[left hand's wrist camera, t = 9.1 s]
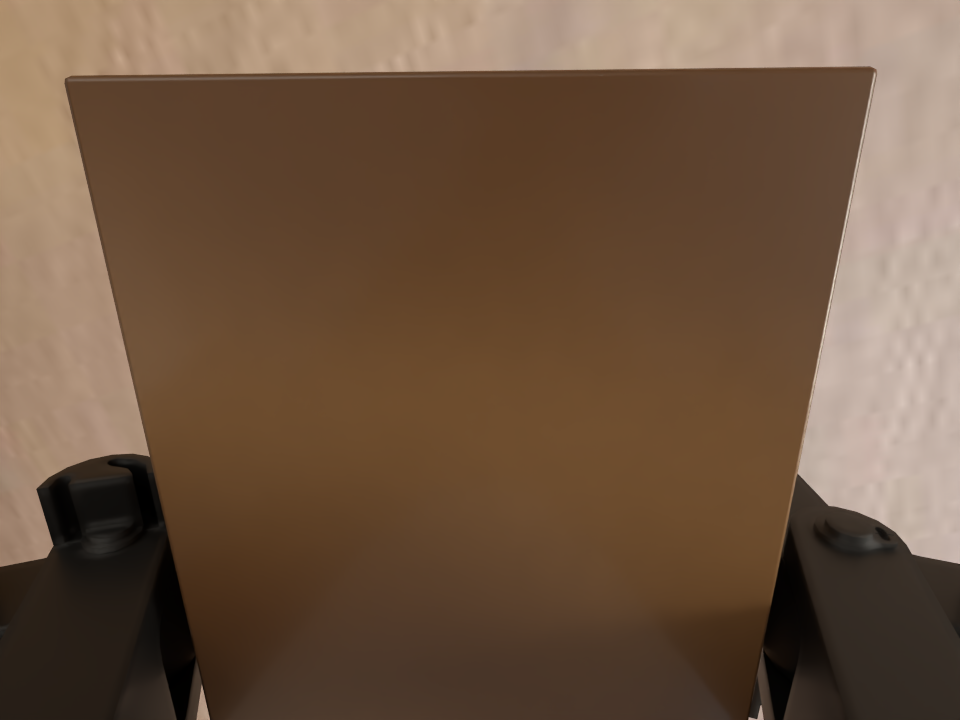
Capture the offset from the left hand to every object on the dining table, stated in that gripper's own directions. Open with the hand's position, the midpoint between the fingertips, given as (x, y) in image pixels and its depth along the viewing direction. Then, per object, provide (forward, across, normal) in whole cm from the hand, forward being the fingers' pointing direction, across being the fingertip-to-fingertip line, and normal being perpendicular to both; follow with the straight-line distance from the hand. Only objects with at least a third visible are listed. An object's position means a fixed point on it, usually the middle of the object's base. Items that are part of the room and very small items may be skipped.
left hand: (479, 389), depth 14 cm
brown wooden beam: (0, 0, -22) cm, 22 cm away
